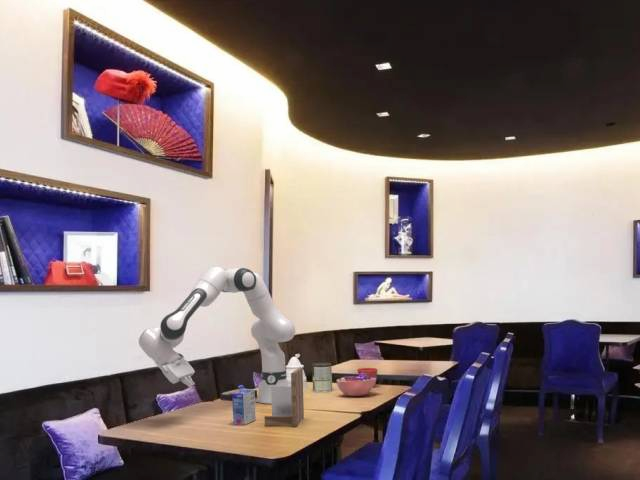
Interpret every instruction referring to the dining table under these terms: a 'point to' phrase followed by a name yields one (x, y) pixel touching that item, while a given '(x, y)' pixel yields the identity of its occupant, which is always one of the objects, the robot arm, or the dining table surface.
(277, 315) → the robot arm
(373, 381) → the cell model
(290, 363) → the honey pot
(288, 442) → the dining table surface
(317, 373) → the coffee can
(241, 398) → the ink cartridge box
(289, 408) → the steel bookend
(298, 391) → the walnut shelf
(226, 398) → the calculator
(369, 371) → the flower pot
